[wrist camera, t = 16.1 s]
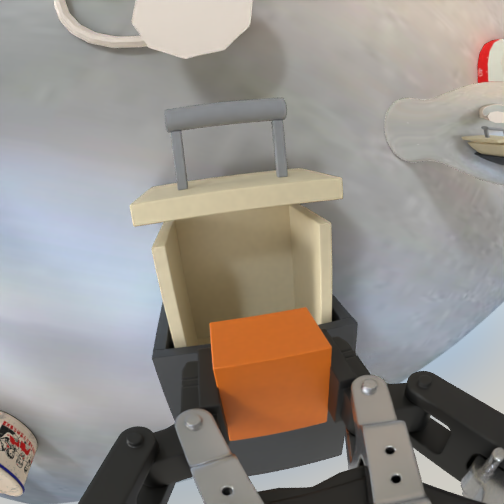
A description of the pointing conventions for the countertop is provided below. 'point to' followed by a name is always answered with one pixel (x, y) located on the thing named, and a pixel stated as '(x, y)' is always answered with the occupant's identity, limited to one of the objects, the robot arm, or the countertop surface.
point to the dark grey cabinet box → (270, 446)
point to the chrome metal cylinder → (452, 130)
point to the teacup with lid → (15, 454)
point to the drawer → (238, 232)
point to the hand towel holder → (173, 26)
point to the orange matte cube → (271, 372)
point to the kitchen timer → (491, 62)
